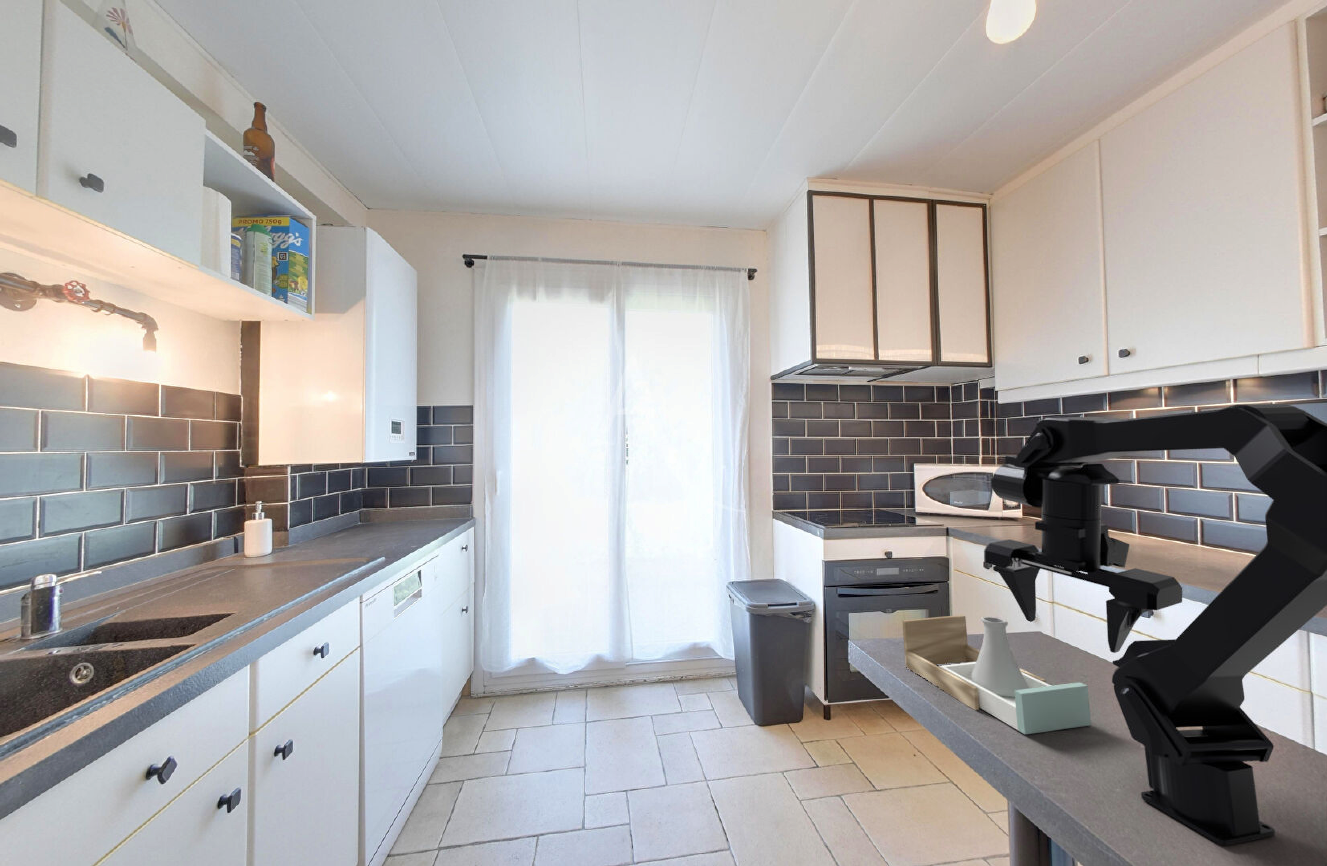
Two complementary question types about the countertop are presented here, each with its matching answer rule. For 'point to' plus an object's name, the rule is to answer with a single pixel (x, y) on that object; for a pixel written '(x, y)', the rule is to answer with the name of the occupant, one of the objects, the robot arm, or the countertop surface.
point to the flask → (997, 661)
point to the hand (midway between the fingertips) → (1069, 635)
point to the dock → (942, 654)
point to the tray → (1032, 703)
